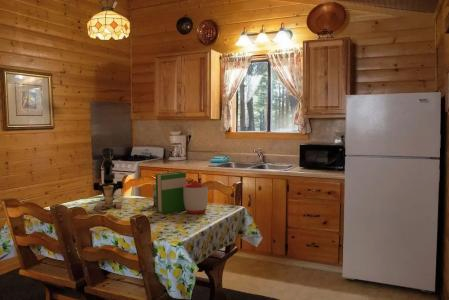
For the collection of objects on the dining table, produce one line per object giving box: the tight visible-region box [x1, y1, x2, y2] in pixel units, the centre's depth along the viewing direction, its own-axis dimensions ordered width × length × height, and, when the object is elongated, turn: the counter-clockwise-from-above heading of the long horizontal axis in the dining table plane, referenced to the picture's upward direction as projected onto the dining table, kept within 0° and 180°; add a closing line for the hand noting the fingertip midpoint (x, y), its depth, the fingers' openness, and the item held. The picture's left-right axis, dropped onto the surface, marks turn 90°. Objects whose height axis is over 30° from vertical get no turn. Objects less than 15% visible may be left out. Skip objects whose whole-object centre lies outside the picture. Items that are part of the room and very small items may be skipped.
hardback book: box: [155, 171, 187, 215], centre depth 244 cm, size 18×7×24 cm, turn 128°
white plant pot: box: [183, 180, 210, 215], centre depth 241 cm, size 16×17×20 cm
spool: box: [103, 185, 114, 208], centre depth 254 cm, size 6×6×13 cm
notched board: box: [95, 200, 123, 212], centre depth 259 cm, size 16×16×2 cm
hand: (108, 196), depth 253 cm, fingers closed on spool, 5 cm apart
